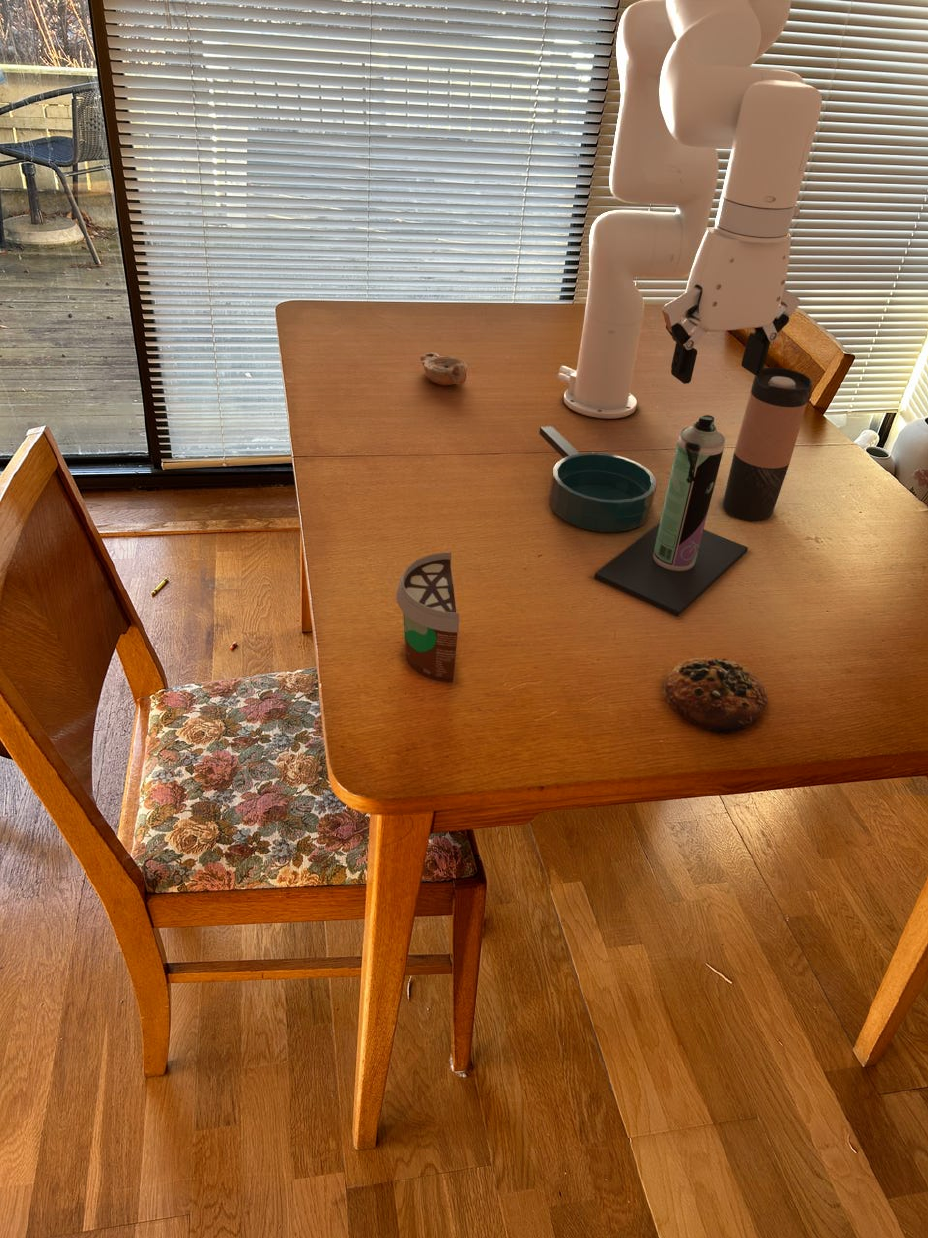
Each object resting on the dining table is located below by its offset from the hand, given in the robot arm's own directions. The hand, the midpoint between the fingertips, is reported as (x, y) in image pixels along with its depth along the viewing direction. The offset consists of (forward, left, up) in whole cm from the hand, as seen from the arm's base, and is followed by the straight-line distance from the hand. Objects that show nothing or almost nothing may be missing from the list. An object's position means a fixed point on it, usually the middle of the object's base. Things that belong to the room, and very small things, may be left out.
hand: (716, 374), depth 107 cm
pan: (-15, +5, -26) cm, 30 cm away
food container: (-12, -37, -26) cm, 47 cm away
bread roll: (+16, -22, -26) cm, 38 cm away
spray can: (0, -1, -25) cm, 25 cm away
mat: (0, -1, -26) cm, 26 cm away
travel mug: (+1, +20, -26) cm, 33 cm away
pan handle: (-26, +12, -23) cm, 36 cm away
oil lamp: (-59, +24, -26) cm, 69 cm away
